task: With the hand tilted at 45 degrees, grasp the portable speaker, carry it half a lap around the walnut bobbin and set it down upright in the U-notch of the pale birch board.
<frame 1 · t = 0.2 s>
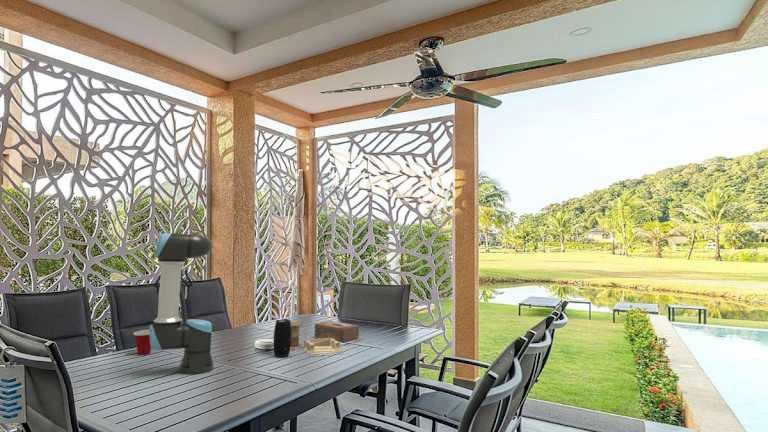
hand: (172, 298, 239), 28 cm above the table, tool pointing down, fingers open, 13 cm apart
plastic cup: (143, 354, 224), on the table
notched board: (322, 351, 239), on the table
portable speaker: (281, 356, 227), on the table
bobbin: (294, 347, 246), on the table
tissue box cover: (336, 340, 271), on the table
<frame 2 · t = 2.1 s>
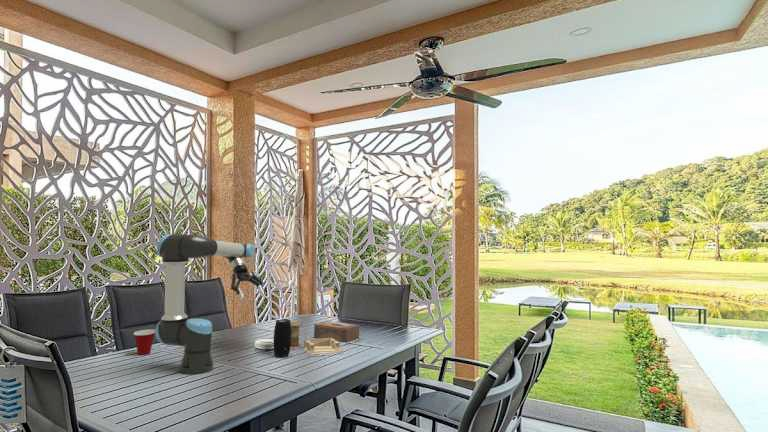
hand: (252, 296, 237), 31 cm above the table, tool tilted 40°, fingers open, 13 cm apart
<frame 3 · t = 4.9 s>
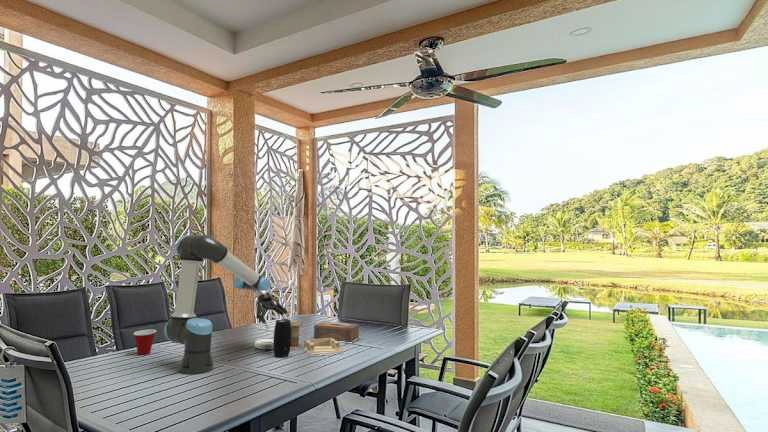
hand: (278, 325, 233), 15 cm above the table, tool tilted 45°, fingers open, 13 cm apart
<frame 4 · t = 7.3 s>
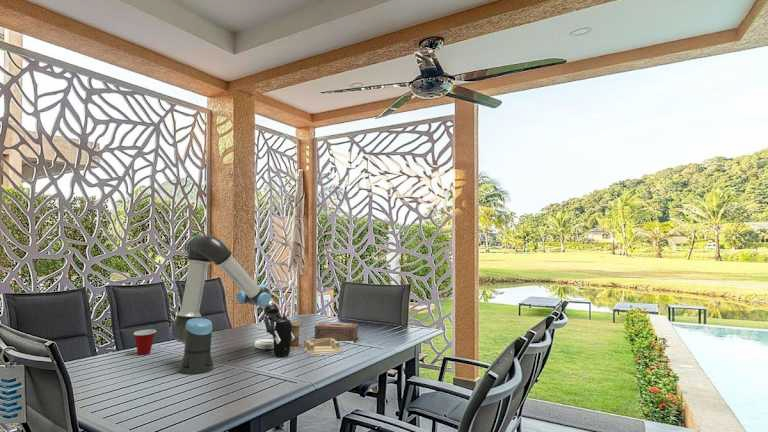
hand: (286, 340, 226), 9 cm above the table, tool tilted 45°, fingers closed on portable speaker, 9 cm apart
portable speaker: (281, 356, 227), on the table, touching gripper
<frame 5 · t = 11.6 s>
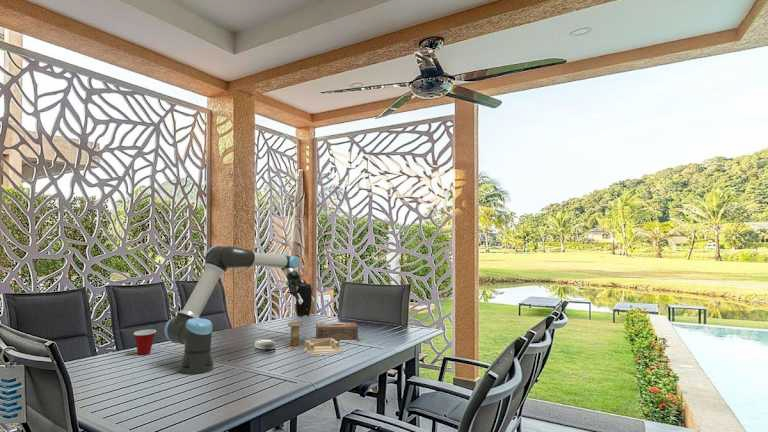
hand: (307, 302, 253), 26 cm above the table, tool tilted 45°, fingers closed on portable speaker, 9 cm apart
portable speaker: (302, 316, 255), point 17 cm above the table, touching gripper
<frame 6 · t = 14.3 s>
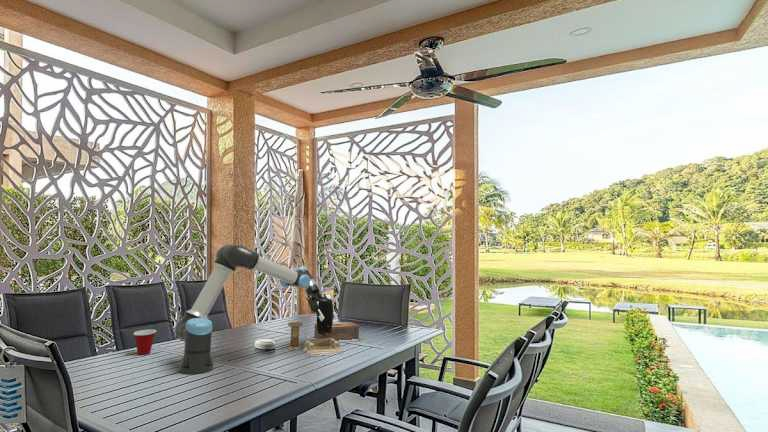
hand: (328, 318, 239), 19 cm above the table, tool tilted 45°, fingers closed on portable speaker, 9 cm apart
portable speaker: (324, 333, 241), point 10 cm above the table, touching gripper
when the fingers open (11 cm above the table, at t = 16.2 s): portable speaker stays where it is, resting on notched board.
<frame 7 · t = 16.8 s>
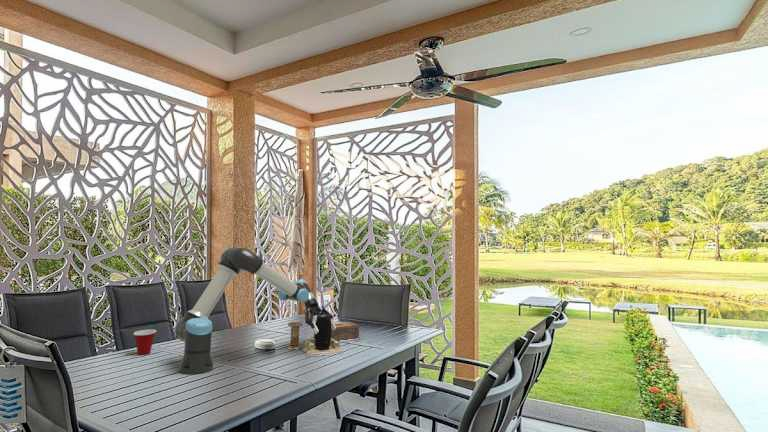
hand: (326, 330, 239), 12 cm above the table, tool tilted 45°, fingers open, 13 cm apart
portable speaker: (322, 349, 240), point 1 cm above the table, touching notched board
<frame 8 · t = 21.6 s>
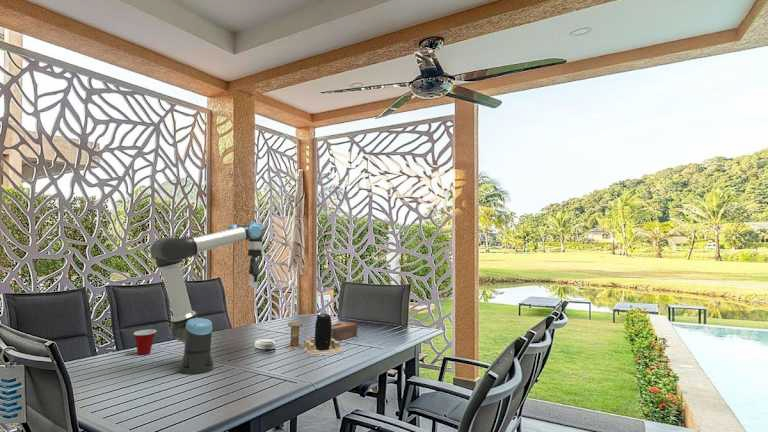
hand: (252, 286, 236), 37 cm above the table, tool pointing down, fingers open, 13 cm apart
at the end: portable speaker inside the target area on the notched board (0.5 cm from its centre), point 1.3 cm above the notched board's base; portable speaker tilted 0°; the gripper is holding nothing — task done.
